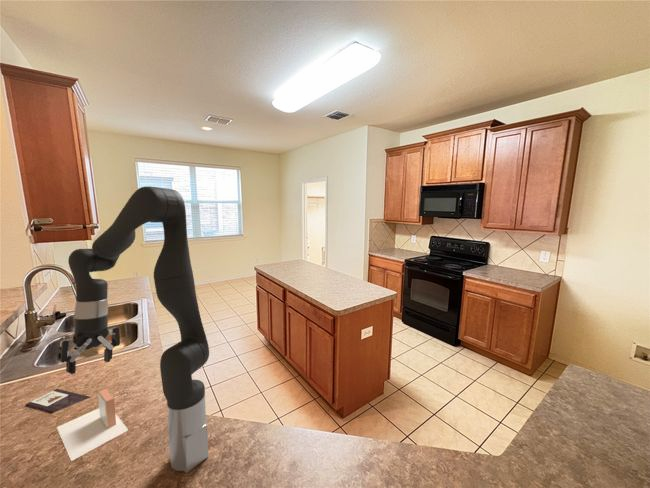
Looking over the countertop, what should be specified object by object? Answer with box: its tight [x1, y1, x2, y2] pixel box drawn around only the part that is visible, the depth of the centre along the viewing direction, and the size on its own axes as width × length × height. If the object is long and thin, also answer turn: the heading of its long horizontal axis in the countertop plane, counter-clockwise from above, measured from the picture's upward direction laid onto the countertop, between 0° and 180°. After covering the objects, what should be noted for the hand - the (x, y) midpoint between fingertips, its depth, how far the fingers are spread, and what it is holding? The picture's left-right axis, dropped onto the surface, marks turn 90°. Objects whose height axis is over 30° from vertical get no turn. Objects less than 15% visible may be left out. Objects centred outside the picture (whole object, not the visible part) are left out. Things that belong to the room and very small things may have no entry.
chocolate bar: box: [25, 388, 91, 414], centre depth 95 cm, size 9×1×18 cm
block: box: [97, 388, 116, 428], centre depth 84 cm, size 8×2×9 cm, turn 54°
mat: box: [56, 407, 129, 462], centre depth 81 cm, size 20×13×1 cm, turn 54°
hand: (90, 367), depth 78 cm, fingers open, 8 cm apart
